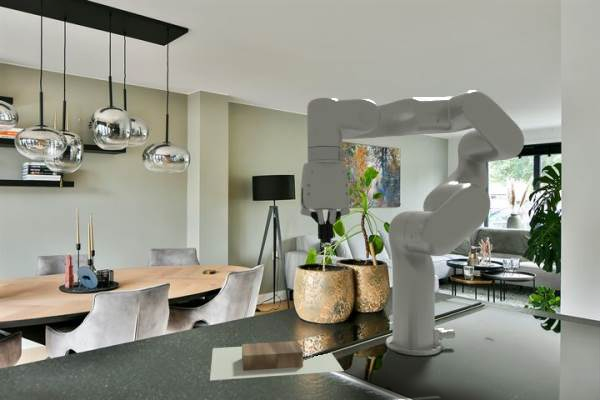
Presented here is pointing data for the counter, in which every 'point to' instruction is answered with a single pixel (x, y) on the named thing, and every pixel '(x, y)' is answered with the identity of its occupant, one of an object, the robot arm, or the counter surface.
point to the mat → (231, 367)
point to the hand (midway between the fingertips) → (325, 242)
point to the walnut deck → (271, 355)
